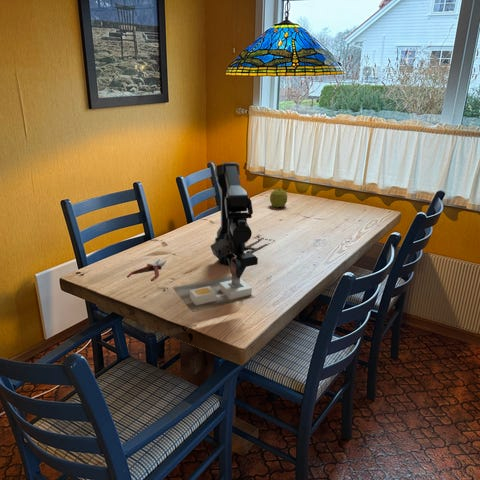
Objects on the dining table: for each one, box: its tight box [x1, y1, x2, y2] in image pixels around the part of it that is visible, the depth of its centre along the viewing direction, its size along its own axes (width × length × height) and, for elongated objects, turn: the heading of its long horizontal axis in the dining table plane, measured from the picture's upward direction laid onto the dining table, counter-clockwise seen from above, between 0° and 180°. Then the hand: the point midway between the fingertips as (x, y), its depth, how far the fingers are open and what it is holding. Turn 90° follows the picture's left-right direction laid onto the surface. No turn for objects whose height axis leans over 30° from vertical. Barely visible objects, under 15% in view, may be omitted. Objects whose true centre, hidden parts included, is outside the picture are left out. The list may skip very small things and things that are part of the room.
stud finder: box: [190, 286, 216, 305], centre depth 143 cm, size 5×7×3 cm
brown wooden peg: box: [230, 257, 241, 285], centre depth 147 cm, size 4×4×9 cm
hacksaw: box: [245, 234, 275, 254], centre depth 195 cm, size 24×10×2 cm, turn 145°
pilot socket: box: [220, 277, 253, 299], centre depth 149 cm, size 8×8×2 cm
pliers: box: [126, 258, 167, 282], centre depth 166 cm, size 12×20×3 cm, turn 165°
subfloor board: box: [172, 275, 255, 313], centre depth 149 cm, size 18×22×2 cm
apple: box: [269, 188, 288, 208], centre depth 247 cm, size 10×10×11 cm
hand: (235, 275), depth 147 cm, fingers closed on brown wooden peg, 4 cm apart
